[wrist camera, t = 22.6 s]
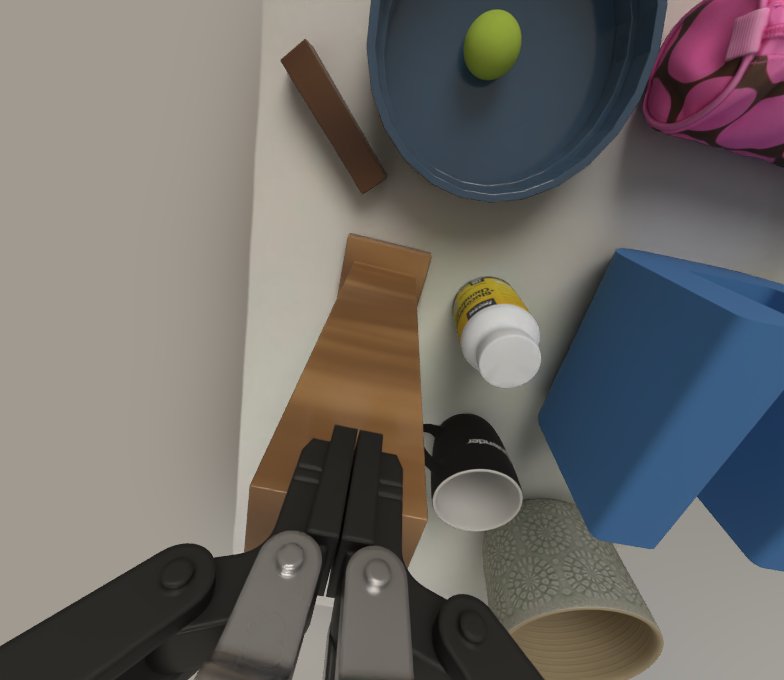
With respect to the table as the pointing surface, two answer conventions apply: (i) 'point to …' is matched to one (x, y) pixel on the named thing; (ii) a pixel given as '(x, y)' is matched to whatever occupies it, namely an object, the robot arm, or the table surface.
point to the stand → (357, 384)
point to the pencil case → (723, 78)
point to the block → (675, 404)
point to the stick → (333, 115)
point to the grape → (492, 44)
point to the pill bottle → (497, 332)
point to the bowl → (509, 89)
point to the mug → (471, 475)
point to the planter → (567, 596)
